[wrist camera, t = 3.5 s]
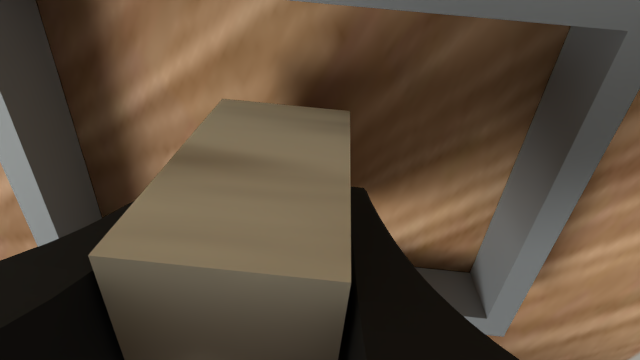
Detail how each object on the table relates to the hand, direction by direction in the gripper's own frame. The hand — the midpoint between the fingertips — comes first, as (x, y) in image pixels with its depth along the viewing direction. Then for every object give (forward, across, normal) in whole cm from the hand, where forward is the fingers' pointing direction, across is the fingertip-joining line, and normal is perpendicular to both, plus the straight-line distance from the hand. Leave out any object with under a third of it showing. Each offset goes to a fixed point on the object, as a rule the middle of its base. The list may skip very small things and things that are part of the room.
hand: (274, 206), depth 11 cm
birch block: (+2, 0, 0) cm, 2 cm away
